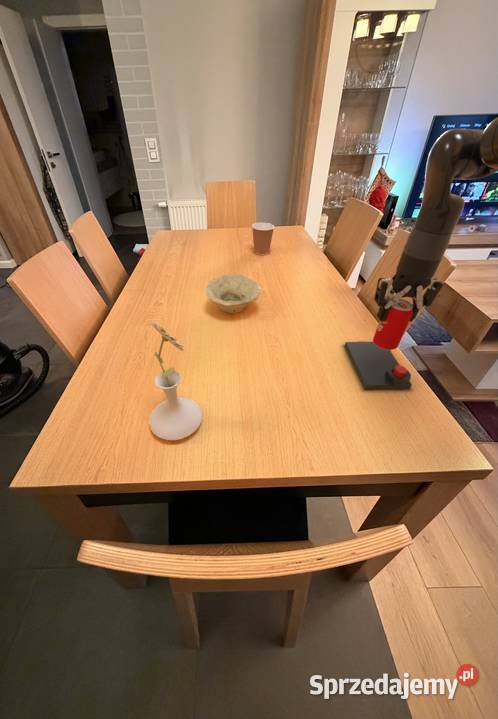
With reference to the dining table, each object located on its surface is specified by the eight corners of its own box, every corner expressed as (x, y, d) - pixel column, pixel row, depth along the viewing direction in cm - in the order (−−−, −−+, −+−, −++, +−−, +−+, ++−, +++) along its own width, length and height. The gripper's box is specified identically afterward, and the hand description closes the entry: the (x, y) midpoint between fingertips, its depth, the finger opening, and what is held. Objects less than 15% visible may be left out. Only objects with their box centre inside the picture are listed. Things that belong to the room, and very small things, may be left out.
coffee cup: (264, 246, 149) (265, 221, 141) (276, 253, 143) (279, 227, 135) (246, 250, 145) (247, 224, 137) (258, 257, 138) (260, 231, 130)
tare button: (406, 377, 76) (408, 372, 75) (395, 378, 76) (398, 373, 75) (401, 370, 78) (403, 365, 77) (391, 370, 78) (393, 365, 77)
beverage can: (386, 335, 80) (403, 295, 73) (402, 349, 76) (421, 308, 68) (367, 339, 79) (381, 299, 71) (381, 354, 74) (399, 312, 67)
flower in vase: (208, 435, 65) (199, 345, 49) (154, 451, 62) (125, 360, 45) (194, 393, 74) (183, 305, 58) (147, 405, 71) (120, 315, 54)
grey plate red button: (410, 390, 77) (415, 380, 75) (365, 391, 77) (369, 381, 74) (382, 345, 91) (386, 336, 89) (344, 346, 90) (347, 336, 88)
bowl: (243, 308, 113) (272, 295, 103) (212, 326, 101) (240, 313, 90) (226, 274, 110) (253, 257, 100) (192, 288, 98) (218, 270, 88)
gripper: (397, 258, 58) (371, 329, 69) (467, 259, 59) (431, 328, 70) (382, 244, 64) (360, 311, 75) (446, 245, 65) (416, 311, 76)
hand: (394, 319), depth 72 cm, fingers closed on beverage can, 6 cm apart
